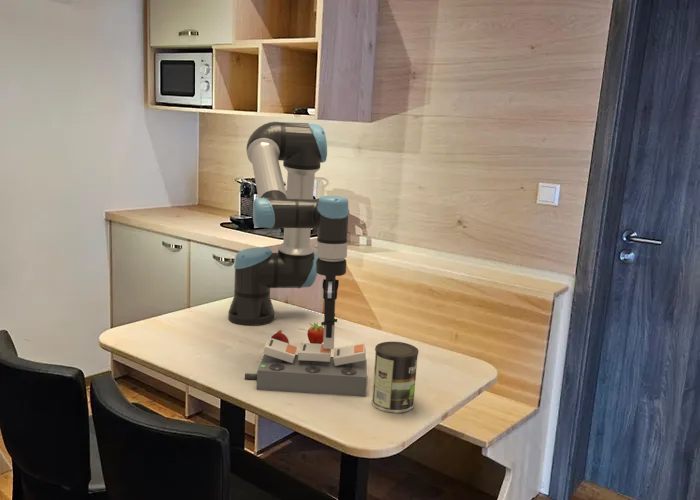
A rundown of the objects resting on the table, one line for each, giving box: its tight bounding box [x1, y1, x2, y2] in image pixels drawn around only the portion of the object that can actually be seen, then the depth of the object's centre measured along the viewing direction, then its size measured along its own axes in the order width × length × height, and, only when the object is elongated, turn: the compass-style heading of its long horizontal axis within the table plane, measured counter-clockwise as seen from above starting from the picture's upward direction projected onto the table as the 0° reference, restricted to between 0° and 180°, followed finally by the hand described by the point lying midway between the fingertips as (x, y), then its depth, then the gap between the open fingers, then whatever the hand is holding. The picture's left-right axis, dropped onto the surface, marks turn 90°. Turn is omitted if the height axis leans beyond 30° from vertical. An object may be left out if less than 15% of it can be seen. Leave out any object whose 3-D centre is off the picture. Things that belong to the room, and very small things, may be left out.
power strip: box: [244, 354, 368, 397], centre depth 162 cm, size 12×31×6 cm, turn 89°
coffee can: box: [371, 341, 419, 414], centre depth 152 cm, size 10×10×14 cm
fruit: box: [307, 322, 324, 344], centre depth 186 cm, size 5×5×8 cm
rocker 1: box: [262, 336, 299, 363], centre depth 163 cm, size 7×8×2 cm
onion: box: [270, 329, 290, 344], centre depth 177 cm, size 6×6×8 cm
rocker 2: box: [297, 342, 332, 362], centre depth 163 cm, size 7×8×2 cm
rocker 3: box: [333, 342, 367, 366], centre depth 163 cm, size 7×8×2 cm
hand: (328, 347), depth 163 cm, fingers closed
